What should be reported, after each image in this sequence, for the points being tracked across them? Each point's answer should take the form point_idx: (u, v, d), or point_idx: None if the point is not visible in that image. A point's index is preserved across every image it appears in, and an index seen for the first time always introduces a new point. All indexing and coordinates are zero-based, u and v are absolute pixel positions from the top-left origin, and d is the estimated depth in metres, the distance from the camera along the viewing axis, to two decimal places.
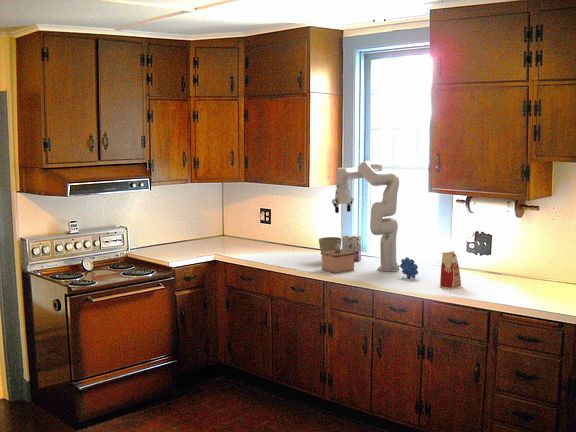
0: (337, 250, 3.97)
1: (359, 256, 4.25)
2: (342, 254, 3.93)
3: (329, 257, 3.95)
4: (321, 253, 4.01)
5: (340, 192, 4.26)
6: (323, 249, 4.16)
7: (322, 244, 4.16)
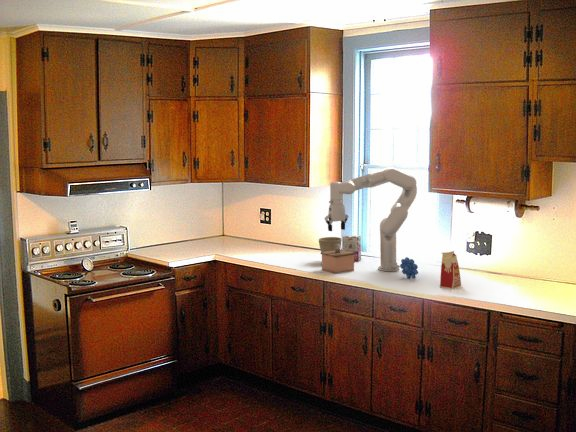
0: (337, 250, 3.97)
1: (359, 256, 4.25)
2: (342, 254, 3.93)
3: (329, 257, 3.95)
4: (321, 253, 4.01)
5: (334, 209, 3.91)
6: (323, 249, 4.16)
7: (322, 244, 4.16)
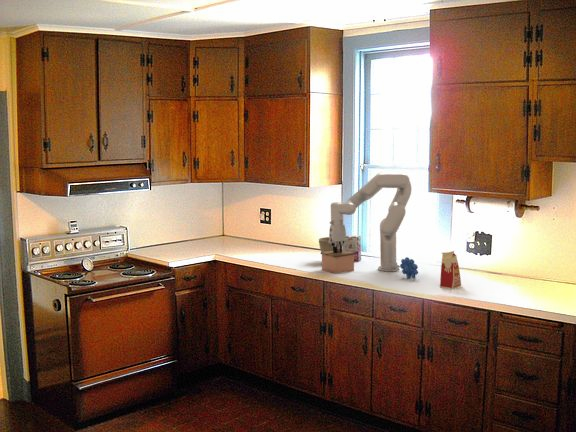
0: (337, 250, 3.97)
1: (359, 256, 4.25)
2: (342, 254, 3.93)
3: (329, 257, 3.95)
4: (321, 253, 4.01)
5: (334, 229, 3.93)
6: (323, 249, 4.16)
7: (322, 244, 4.16)
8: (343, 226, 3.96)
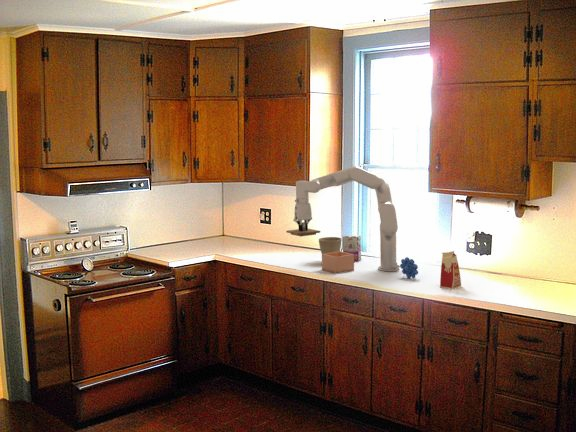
0: None
1: (359, 256, 4.25)
2: (307, 232, 3.92)
3: (329, 257, 3.95)
4: (287, 231, 4.00)
5: (299, 207, 3.92)
6: (323, 249, 4.16)
7: (322, 244, 4.16)
8: (308, 204, 3.96)
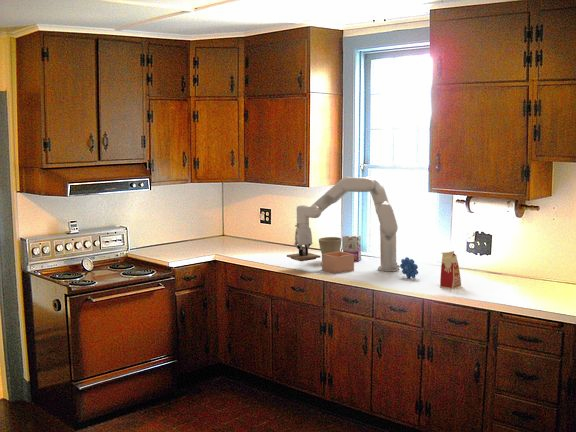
0: (303, 253, 3.99)
1: (359, 256, 4.25)
2: (307, 257, 3.94)
3: (329, 257, 3.95)
4: (287, 256, 4.02)
5: (300, 232, 3.94)
6: (323, 249, 4.16)
7: (322, 244, 4.16)
8: (309, 229, 3.98)
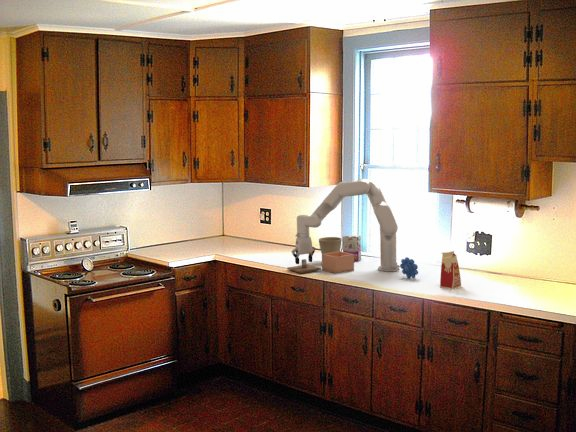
0: (303, 265, 4.00)
1: (359, 256, 4.25)
2: (308, 269, 3.95)
3: (329, 257, 3.95)
4: (288, 268, 4.03)
5: (300, 242, 3.95)
6: (323, 249, 4.16)
7: (322, 244, 4.16)
8: (309, 239, 3.98)
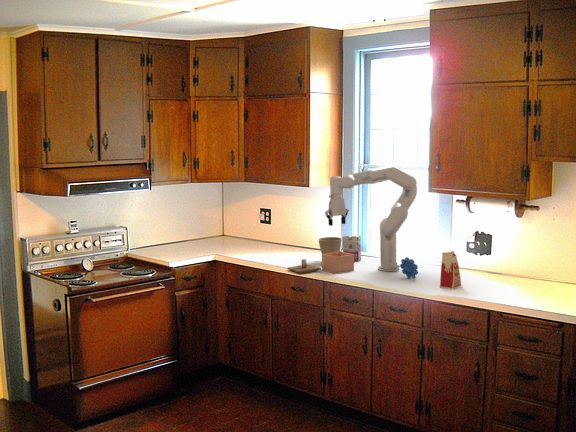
0: (303, 265, 4.00)
1: (359, 256, 4.25)
2: (308, 269, 3.95)
3: (329, 257, 3.95)
4: (288, 268, 4.03)
5: (334, 203, 3.91)
6: (323, 249, 4.16)
7: (322, 244, 4.16)
8: (343, 200, 3.94)
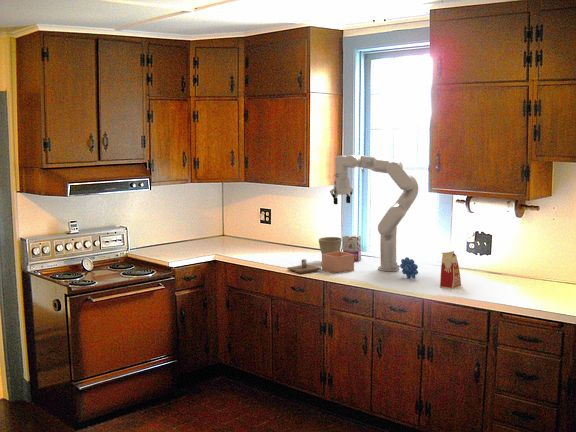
0: (303, 265, 4.00)
1: (359, 256, 4.25)
2: (308, 270, 3.95)
3: (329, 257, 3.95)
4: (288, 268, 4.03)
5: (339, 182, 3.96)
6: (323, 249, 4.16)
7: (322, 244, 4.16)
8: (347, 179, 4.00)
